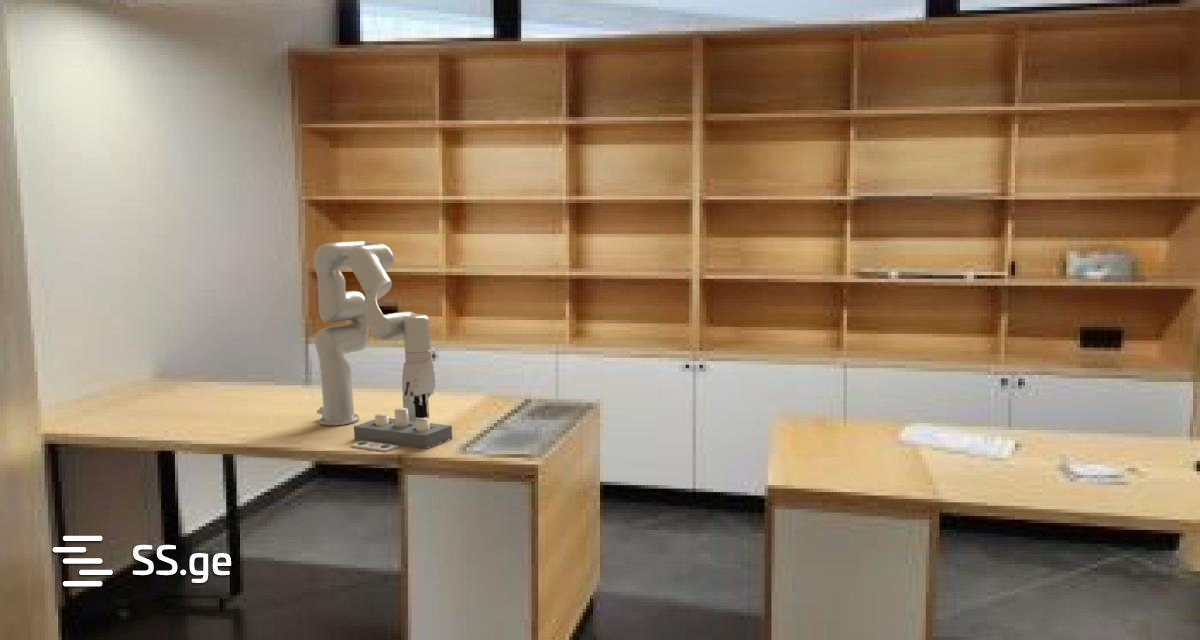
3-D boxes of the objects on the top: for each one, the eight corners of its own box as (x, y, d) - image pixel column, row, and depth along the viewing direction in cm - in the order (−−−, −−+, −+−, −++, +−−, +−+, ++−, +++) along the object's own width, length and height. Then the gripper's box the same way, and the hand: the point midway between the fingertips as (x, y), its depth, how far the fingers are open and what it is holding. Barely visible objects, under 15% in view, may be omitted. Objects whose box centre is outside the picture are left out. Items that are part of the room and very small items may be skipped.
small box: (420, 427, 294) (418, 395, 293) (404, 427, 295) (401, 394, 294) (430, 421, 302) (428, 389, 300) (414, 420, 303) (412, 389, 302)
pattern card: (350, 446, 274) (350, 444, 274) (362, 442, 278) (362, 439, 278) (386, 451, 267) (386, 449, 267) (398, 447, 272) (397, 444, 271)
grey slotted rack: (354, 439, 283) (353, 426, 282) (381, 429, 293) (380, 417, 292) (426, 448, 269) (425, 435, 268) (452, 438, 279) (451, 425, 279)
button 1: (373, 437, 284) (372, 415, 283) (382, 433, 287) (381, 412, 287) (383, 438, 282) (382, 416, 281) (392, 435, 286) (391, 413, 285)
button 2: (393, 431, 280) (391, 410, 279) (402, 428, 283) (400, 407, 282) (403, 433, 278) (401, 411, 277) (412, 429, 281) (410, 408, 280)
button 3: (414, 442, 276) (412, 420, 275) (422, 438, 280) (421, 417, 279) (424, 443, 274) (423, 421, 273) (433, 440, 278) (432, 418, 277)
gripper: (424, 351, 282) (427, 410, 285) (391, 360, 269) (394, 421, 272) (444, 353, 278) (447, 412, 281) (411, 362, 265) (414, 424, 268)
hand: (421, 416), depth 276 cm, fingers closed
